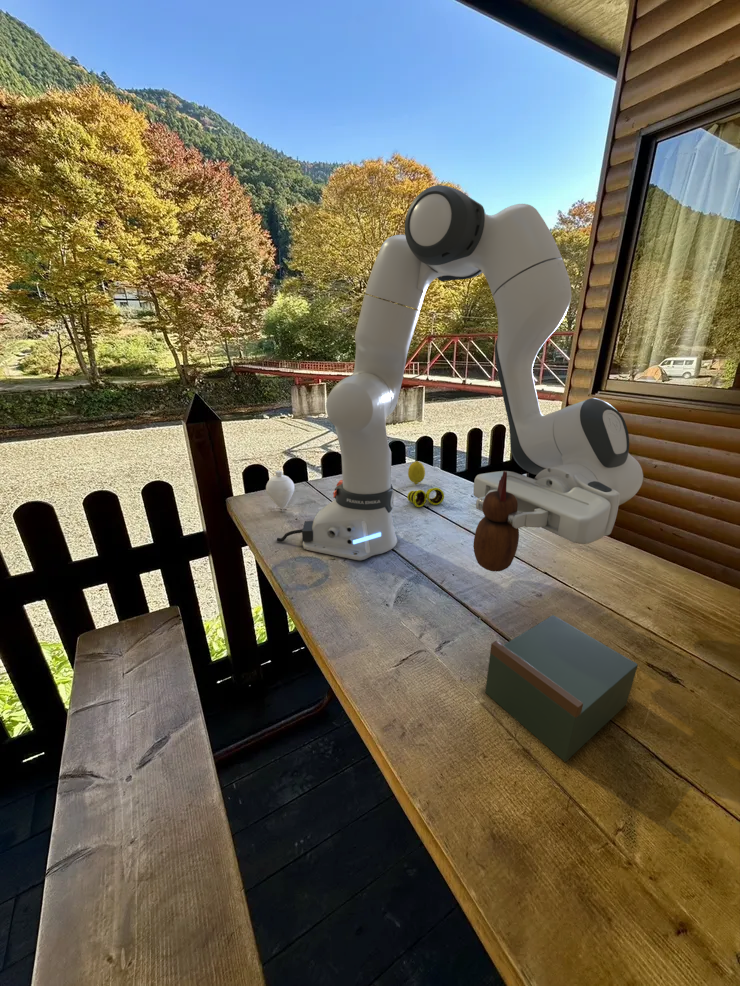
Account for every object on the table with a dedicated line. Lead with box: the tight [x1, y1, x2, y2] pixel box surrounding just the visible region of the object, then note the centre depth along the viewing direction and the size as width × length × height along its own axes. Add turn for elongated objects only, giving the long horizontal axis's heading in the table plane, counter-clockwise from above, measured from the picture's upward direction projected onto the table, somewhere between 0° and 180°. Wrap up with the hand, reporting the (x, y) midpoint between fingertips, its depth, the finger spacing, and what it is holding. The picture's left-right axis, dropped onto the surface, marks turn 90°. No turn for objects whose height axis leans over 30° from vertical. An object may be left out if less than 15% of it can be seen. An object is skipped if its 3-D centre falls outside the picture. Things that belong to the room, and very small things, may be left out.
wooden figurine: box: [473, 470, 520, 572], centre depth 57 cm, size 7×6×15 cm
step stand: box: [485, 614, 639, 763], centre depth 54 cm, size 12×14×9 cm
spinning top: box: [265, 469, 295, 512], centre depth 113 cm, size 8×8×12 cm
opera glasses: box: [407, 487, 445, 508], centre depth 119 cm, size 10×5×5 cm, turn 108°
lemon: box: [407, 460, 426, 485], centre depth 134 cm, size 6×6×8 cm
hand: (494, 513), depth 56 cm, fingers closed on wooden figurine, 4 cm apart
